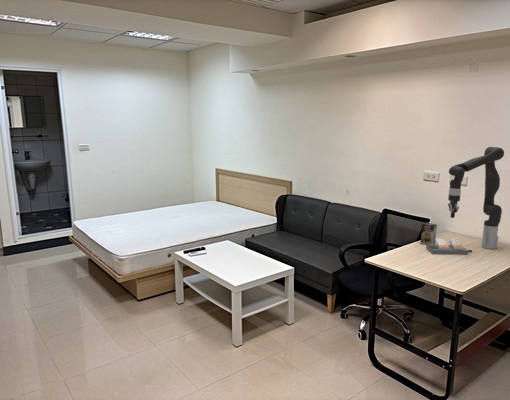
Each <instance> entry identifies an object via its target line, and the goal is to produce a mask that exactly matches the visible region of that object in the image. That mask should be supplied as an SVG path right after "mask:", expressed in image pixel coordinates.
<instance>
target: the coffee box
mask: <svg viewBox="0 0 510 400" xmlns="http://www.w3.org/2000/svg"><path fill="white" fill-rule="evenodd" d="M437 229H438V224H437V223H430V222H423V223H422V225H421V235H420V244H421V245H426V246H427V245H434V244H435V245H436V242H435V239H437Z"/></svg>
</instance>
